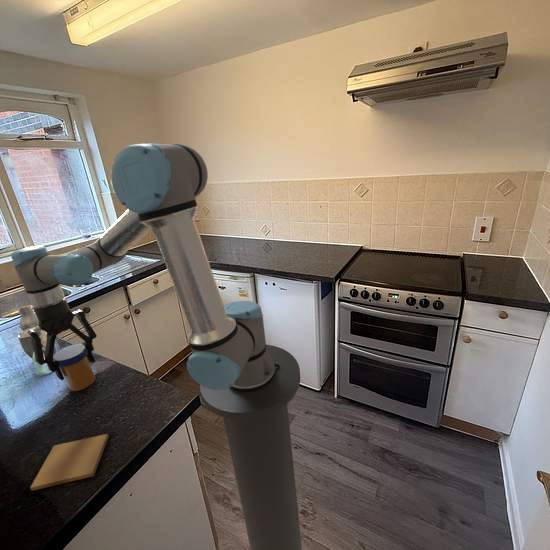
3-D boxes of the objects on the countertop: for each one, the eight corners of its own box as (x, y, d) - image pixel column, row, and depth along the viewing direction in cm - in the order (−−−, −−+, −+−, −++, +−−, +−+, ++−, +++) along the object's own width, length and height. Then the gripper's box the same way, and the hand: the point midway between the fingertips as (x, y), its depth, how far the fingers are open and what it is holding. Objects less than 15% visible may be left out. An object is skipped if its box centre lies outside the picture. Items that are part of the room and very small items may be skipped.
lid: (80, 363, 85) (78, 357, 85) (49, 369, 84) (47, 362, 84) (92, 347, 93) (90, 341, 92) (64, 351, 92) (61, 346, 91)
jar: (99, 372, 96) (88, 344, 92) (90, 388, 89) (78, 358, 85) (75, 377, 95) (63, 349, 91) (64, 393, 88) (51, 363, 84)
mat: (109, 436, 72) (107, 433, 72) (93, 476, 63) (92, 473, 63) (55, 448, 70) (53, 445, 70) (31, 491, 61) (29, 487, 61)
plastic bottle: (47, 351, 110) (26, 303, 103) (62, 352, 109) (41, 304, 102) (31, 363, 105) (7, 313, 97) (46, 364, 103) (23, 313, 96)
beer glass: (64, 365, 102) (48, 327, 96) (43, 378, 96) (24, 339, 90) (52, 361, 104) (35, 324, 99) (30, 374, 99) (11, 335, 93)
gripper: (82, 285, 92) (104, 347, 100) (-3, 316, 76) (31, 387, 84) (94, 289, 88) (116, 353, 96) (7, 323, 72) (42, 396, 80)
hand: (77, 369), depth 90 cm, fingers closed on lid, 8 cm apart
